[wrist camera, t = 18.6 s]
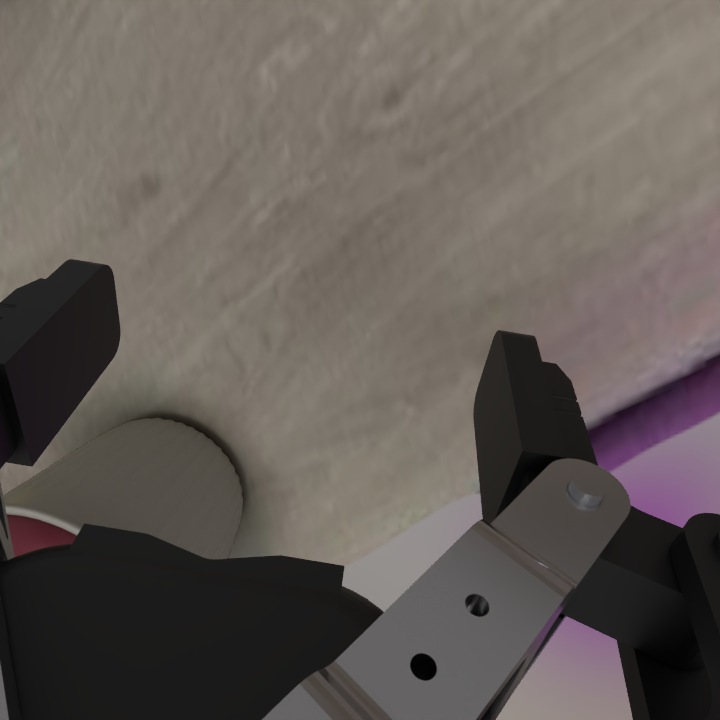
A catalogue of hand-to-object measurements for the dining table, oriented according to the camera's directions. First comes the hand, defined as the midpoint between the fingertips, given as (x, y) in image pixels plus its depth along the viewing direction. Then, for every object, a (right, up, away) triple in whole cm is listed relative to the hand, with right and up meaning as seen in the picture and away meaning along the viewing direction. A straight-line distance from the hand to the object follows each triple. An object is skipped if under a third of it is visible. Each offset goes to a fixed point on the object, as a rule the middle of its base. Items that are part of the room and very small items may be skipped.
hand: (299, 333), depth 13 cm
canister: (-14, -11, +40) cm, 44 cm away
